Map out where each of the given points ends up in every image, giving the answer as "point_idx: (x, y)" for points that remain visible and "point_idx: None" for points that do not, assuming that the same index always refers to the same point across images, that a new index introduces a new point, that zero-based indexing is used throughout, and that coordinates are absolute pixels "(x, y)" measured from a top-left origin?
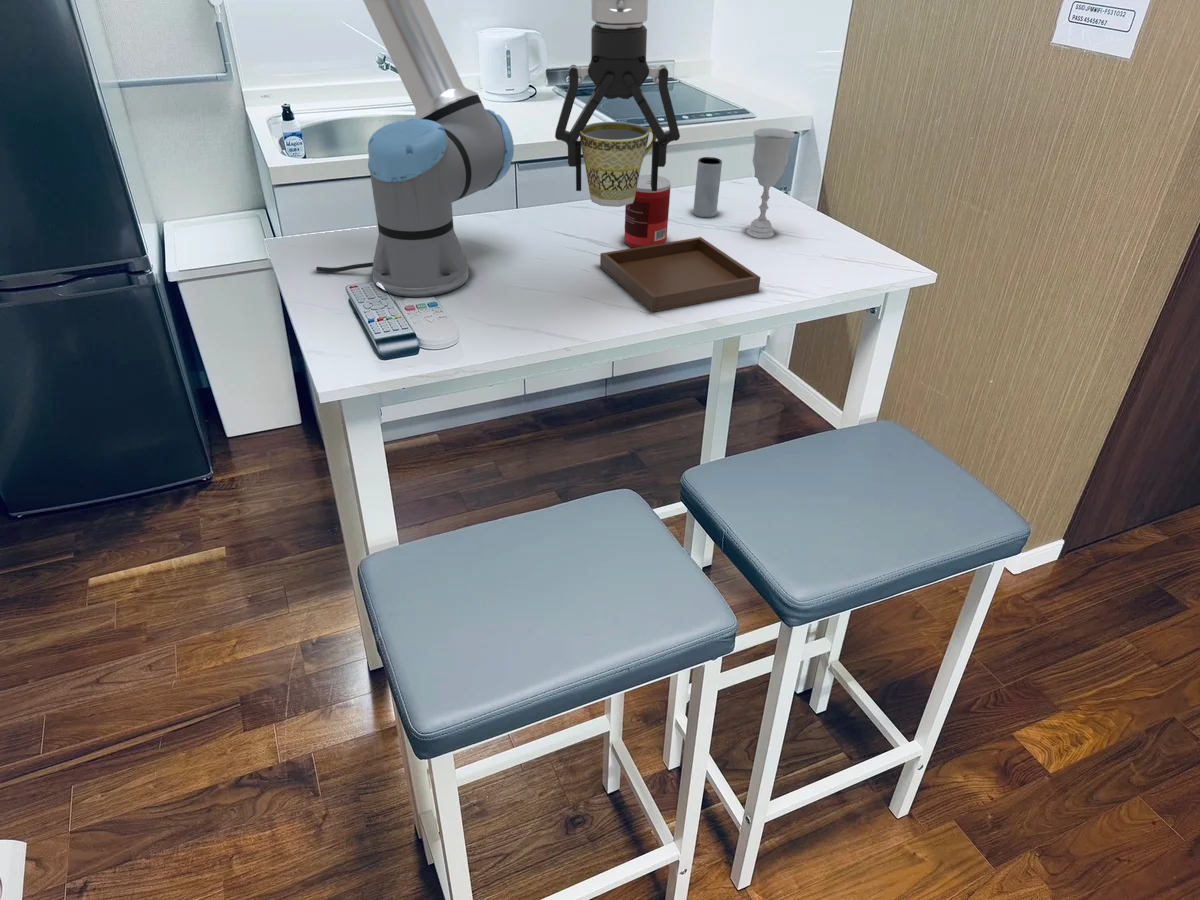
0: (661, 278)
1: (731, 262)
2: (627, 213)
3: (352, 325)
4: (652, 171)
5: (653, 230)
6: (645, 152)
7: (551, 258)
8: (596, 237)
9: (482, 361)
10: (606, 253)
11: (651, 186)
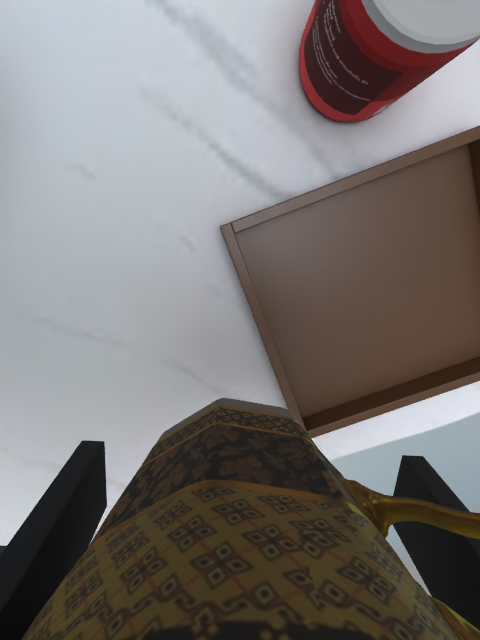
0: (340, 304)
1: None
2: (321, 37)
3: None
4: (433, 581)
5: (380, 106)
6: (478, 537)
7: (107, 168)
8: (225, 11)
9: None
10: (234, 228)
11: (398, 496)
